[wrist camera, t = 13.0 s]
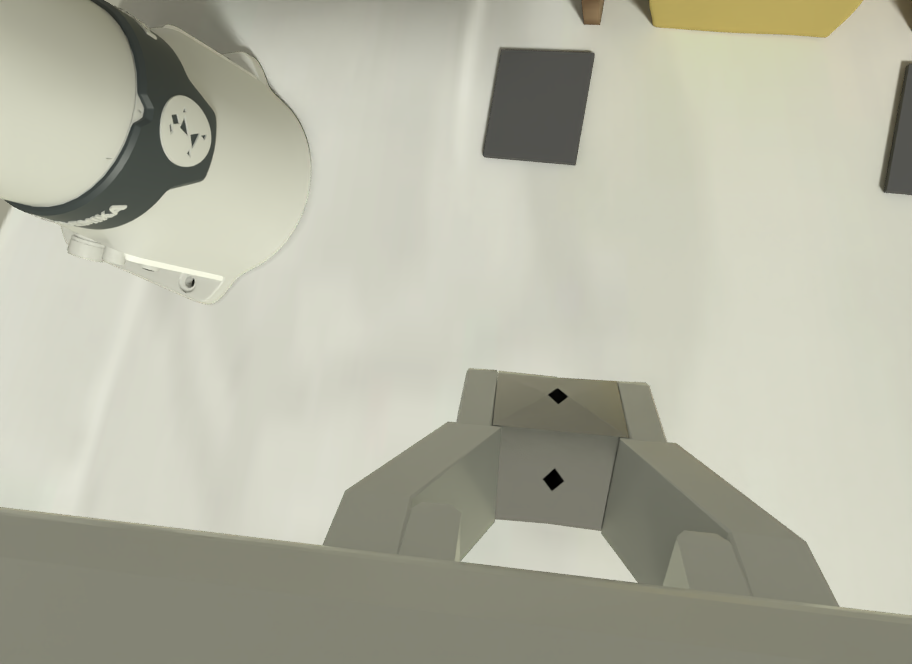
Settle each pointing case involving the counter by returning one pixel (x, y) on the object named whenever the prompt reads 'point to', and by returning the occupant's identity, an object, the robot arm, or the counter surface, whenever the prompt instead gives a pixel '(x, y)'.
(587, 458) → the robot arm
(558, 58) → the pads
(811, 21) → the cheese
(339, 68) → the counter surface
